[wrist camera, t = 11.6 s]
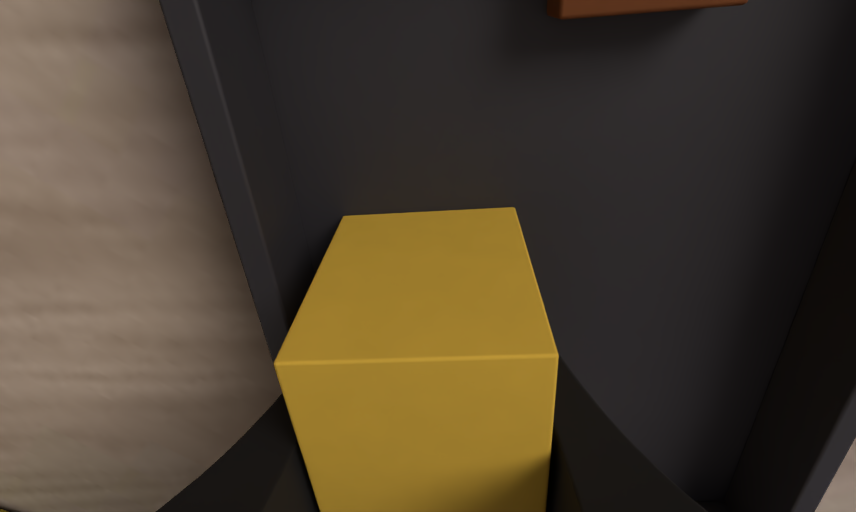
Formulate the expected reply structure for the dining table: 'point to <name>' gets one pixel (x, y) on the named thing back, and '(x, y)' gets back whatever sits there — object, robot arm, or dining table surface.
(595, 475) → the robot arm
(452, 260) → the yellow block
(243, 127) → the pan
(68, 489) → the dining table surface
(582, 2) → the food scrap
